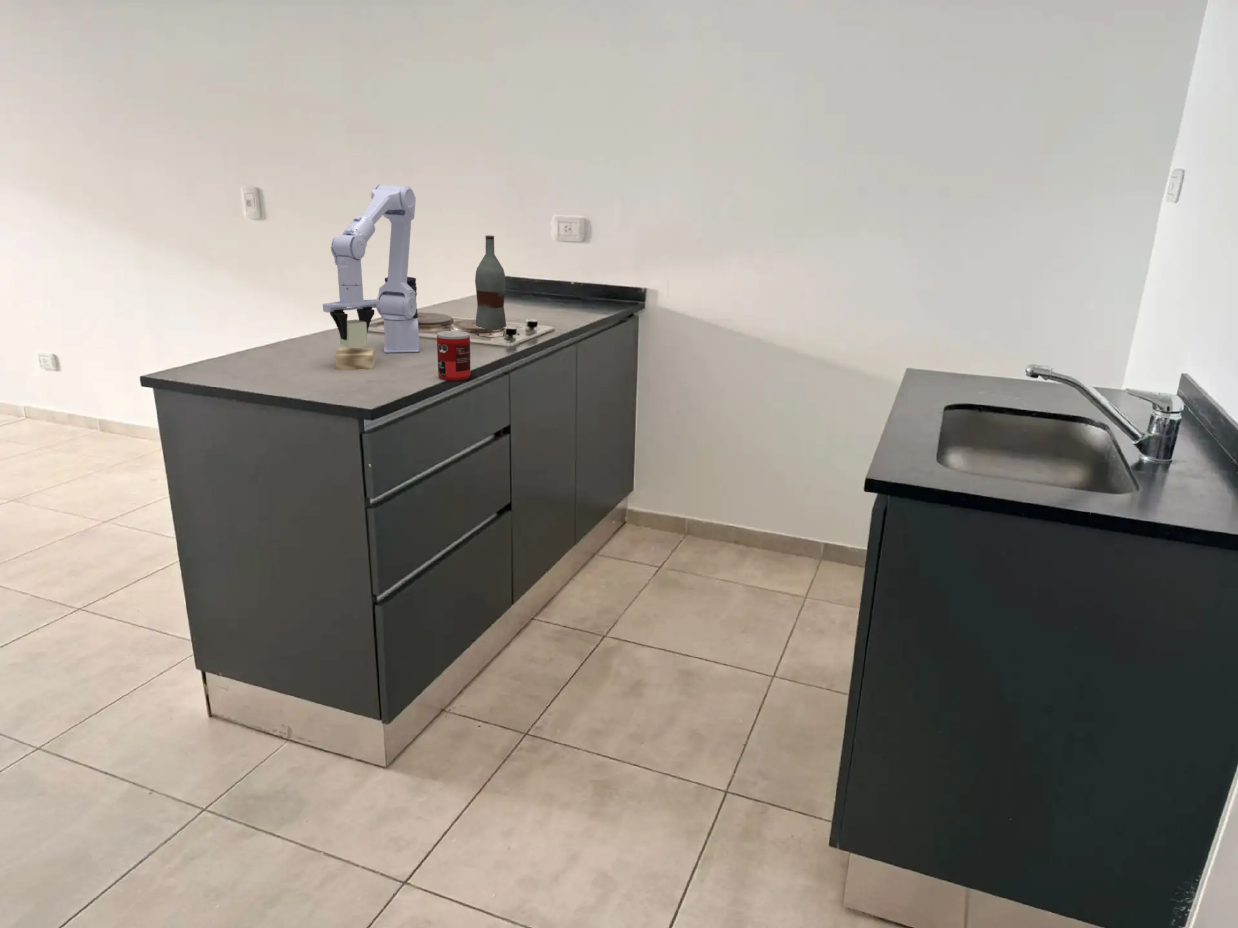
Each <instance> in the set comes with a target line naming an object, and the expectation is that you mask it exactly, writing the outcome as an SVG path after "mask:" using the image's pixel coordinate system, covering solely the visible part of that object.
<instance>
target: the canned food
mask: <svg viewBox="0 0 1238 928" xmlns="http://www.w3.org/2000/svg"><path fill="white" fill-rule="evenodd" d="M436 346H437V347H436V352H437V355H436V356H437V375H438V377H439V379H441V380H444V381H452V382H458V381H459V382H460V381H465V380H468V379H470V377H471V336H470V333H469V332H466V331H461V330H443V331H439V332H437V333H436Z"/></svg>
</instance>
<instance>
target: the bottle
mask: <svg viewBox="0 0 1238 928" xmlns="http://www.w3.org/2000/svg"><path fill="white" fill-rule="evenodd" d="M484 238H485V254H484V256H483V257H482V259H481V260H480V263H479V264H478V266H477V267H476V271H475V275H474V278H475V279H474V282H475V284H474V285H475V291H476V292H475V293H476V303H477V305H476V306H477V307H476V316H475V327H476V326H478V327H482V328H485V329H494V330H497V329H501V328H503V327H505V326H506V325H507V320H506V319H507V318H506V313H505V290H506V274H505V270H504V267H503V265H502V264H501V263H500V261H499V260H498V258H497V256H496V254H495V236H494V235H489V234H488V235H487V234H486V235H485V236H484ZM505 328H506V327H505Z"/></svg>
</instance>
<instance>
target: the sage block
mask: <svg viewBox="0 0 1238 928" xmlns="http://www.w3.org/2000/svg"><path fill="white" fill-rule="evenodd" d="M339 335H340V333H339ZM339 344H340V345H341V346H343V347H345V348H362V347H367V346H368V345H369V344H368V333H367V326H366V322H364V321H360V320H359V319H347V340H343V339H341V337H340V336H339Z"/></svg>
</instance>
